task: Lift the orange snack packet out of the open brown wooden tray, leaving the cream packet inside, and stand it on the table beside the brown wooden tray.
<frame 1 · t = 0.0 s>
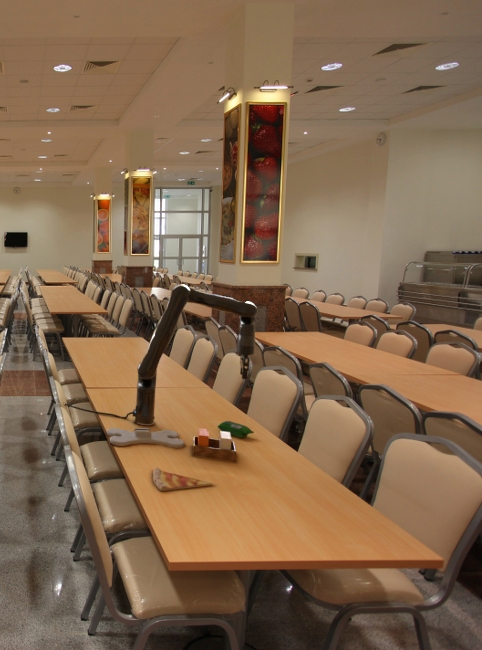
hand: (243, 376, 244), 29 cm above the table, tool pointing down, fingers open, 8 cm apart
holder: (144, 440, 240), on the table
brown wooden tray: (213, 454, 225), on the table
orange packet: (202, 451, 226), resting on brown wooden tray
pizza slice: (178, 486, 194), on the table
snack package: (234, 434, 249), on the table
cream packet: (224, 454, 223), resting on brown wooden tray
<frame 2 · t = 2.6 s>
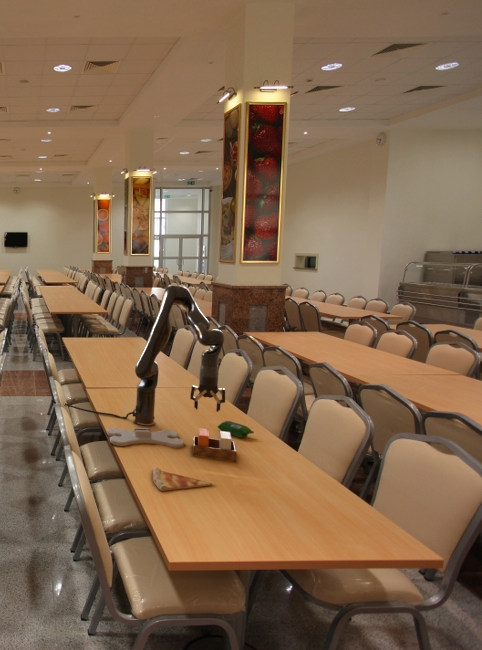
hand: (206, 410, 224), 19 cm above the table, tool pointing down, fingers open, 8 cm apart
nothing on the table moved.
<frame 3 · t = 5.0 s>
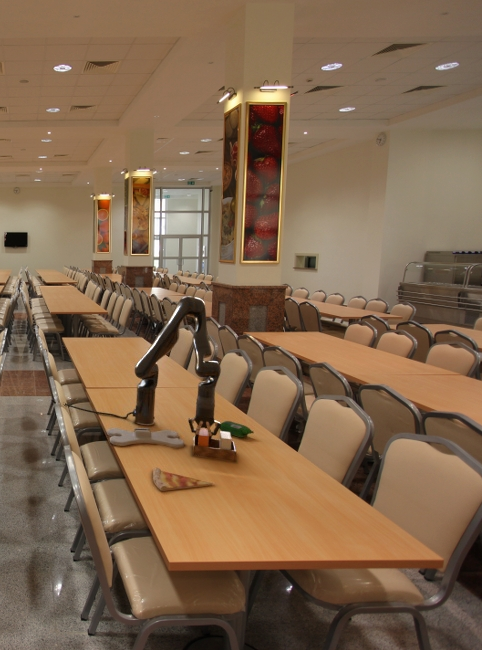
hand: (202, 442, 225), 5 cm above the table, tool pointing down, fingers closed on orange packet, 4 cm apart
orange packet: (202, 451, 226), point 1 cm above the table, touching brown wooden tray, gripper
everything else where it was.
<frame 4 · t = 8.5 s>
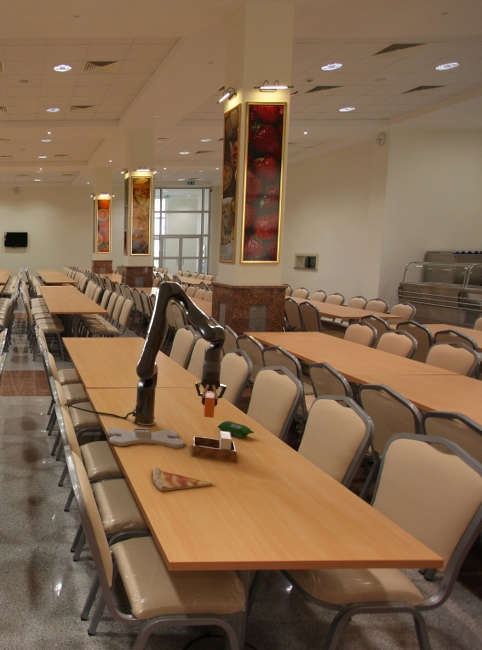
hand: (209, 405, 234), 19 cm above the table, tool pointing down, fingers closed on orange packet, 4 cm apart
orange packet: (208, 414, 234), point 14 cm above the table, touching gripper
everything else where it was.
when the fingers open (4 cm above the table, at t = 12.1 s): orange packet stays where it is, on the table.
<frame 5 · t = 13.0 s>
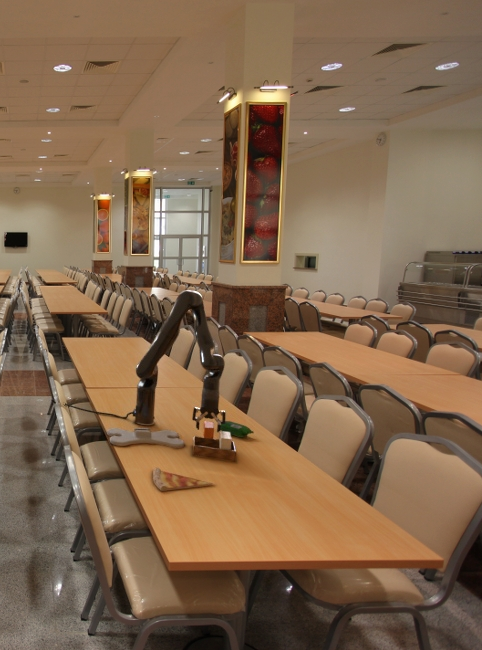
hand: (207, 430, 237), 6 cm above the table, tool pointing down, fingers open, 8 cm apart
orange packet: (207, 442, 237), on the table
everything else where it was.
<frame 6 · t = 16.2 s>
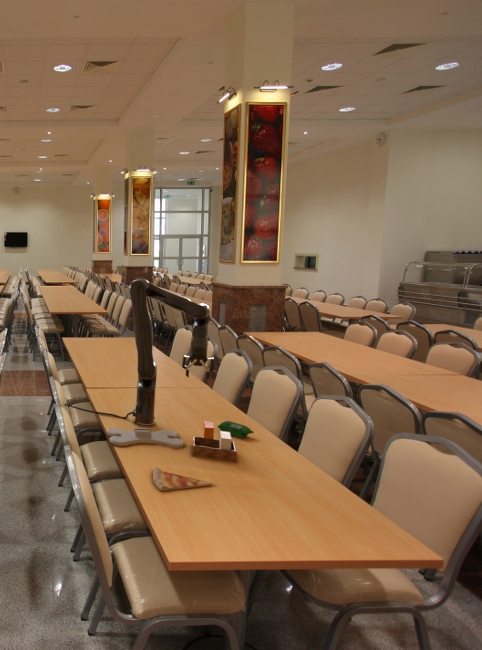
hand: (197, 377, 246), 28 cm above the table, tool pointing down, fingers open, 8 cm apart
nothing on the table moved.
at the end: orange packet inside the target area (0.2 cm from its centre), on the table; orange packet tilted 0°; cream packet inside the target area in the brown wooden tray (4.5 cm from its centre), point 0.5 cm above the brown wooden tray's base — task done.
